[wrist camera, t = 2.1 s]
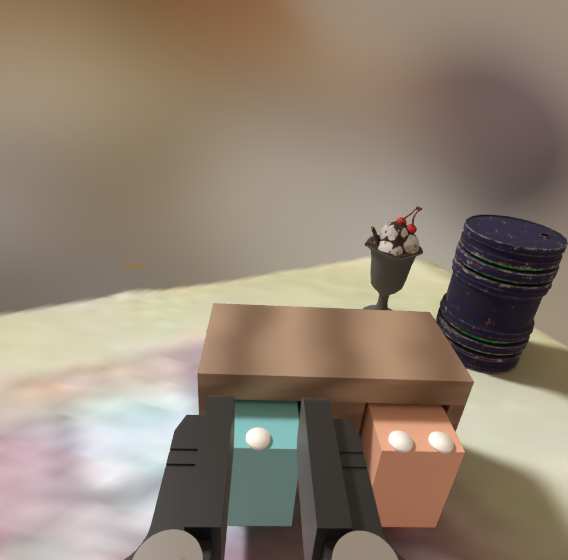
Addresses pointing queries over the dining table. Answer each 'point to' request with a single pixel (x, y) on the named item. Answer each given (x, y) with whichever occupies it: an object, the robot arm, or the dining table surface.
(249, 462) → the grey-green piece
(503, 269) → the dark blue barrel
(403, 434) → the terracotta button
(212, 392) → the walnut console
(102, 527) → the dining table surface
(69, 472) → the dining table surface
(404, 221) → the sundae
